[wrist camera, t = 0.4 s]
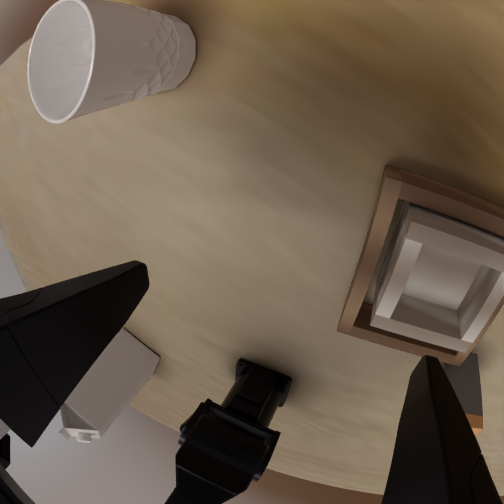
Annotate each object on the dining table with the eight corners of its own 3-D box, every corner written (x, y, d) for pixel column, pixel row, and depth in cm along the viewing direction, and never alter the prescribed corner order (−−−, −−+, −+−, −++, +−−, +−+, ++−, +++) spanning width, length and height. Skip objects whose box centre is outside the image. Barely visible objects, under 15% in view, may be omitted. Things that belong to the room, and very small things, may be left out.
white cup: (194, -5, 16) (87, -29, 8) (213, 85, 19) (105, 98, 12) (122, 32, 19) (22, 37, 12) (137, 110, 23) (38, 138, 15)
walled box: (457, 340, 21) (460, 385, 17) (343, 306, 24) (330, 349, 20) (523, 216, 14) (550, 251, 10) (385, 164, 18) (385, 187, 14)
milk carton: (121, 347, 46) (49, 423, 31) (123, 326, 42) (39, 413, 27) (154, 373, 46) (85, 456, 31) (160, 356, 41) (80, 451, 26)
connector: (455, 380, 23) (454, 450, 17) (423, 372, 24) (417, 445, 18) (476, 354, 21) (483, 429, 14) (442, 345, 22) (443, 422, 16)
